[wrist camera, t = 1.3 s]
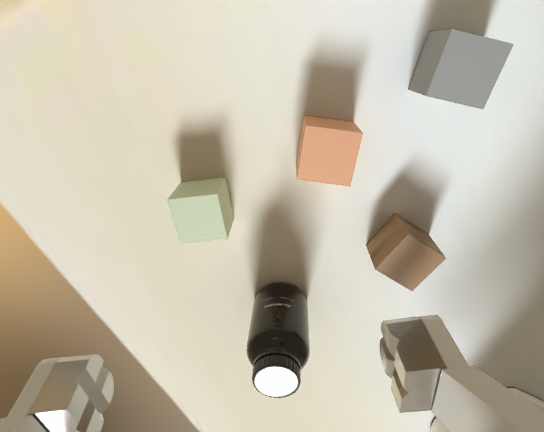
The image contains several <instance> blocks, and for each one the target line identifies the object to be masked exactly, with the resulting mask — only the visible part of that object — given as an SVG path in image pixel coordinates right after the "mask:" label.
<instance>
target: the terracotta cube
mask: <svg viewBox="0 0 544 432" xmlns="http://www.w3.org/2000/svg"><path fill="white" fill-rule="evenodd" d="M362 134H363V133H362V132H361V130H360V129H359V128H358V127H357V126H356V124H355V123H354V122H349V121H342V120H335V119H327V118H320V117H313V116H305V115H304V117H303V123H302V129H301V136H300V142H299V148H298V154H297V160H296V171H297V179H298V180H306V181H313V182H321V183H328V184H336V185H343V186H350V185H351V180H352V176H353V172H354V168H355V164H356V159H357V155H358V151H359V147H360V143H361V139H362Z"/></svg>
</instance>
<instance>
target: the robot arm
mask: <svg viewBox="0 0 544 432" xmlns="http://www.w3.org/2000/svg"><path fill="white" fill-rule="evenodd" d="M381 331H382V334H383V338H382V339H381V340H380V354H381V360H382V363H383V367H384V370H385V373H386V374H387V375H388V376H389V377H390V378H392V386H391V390H392V393H393V395H394V398H395V401H396V404H397V406H398V409H399V412H400V413H402V412H414V411H427V410H432V413H433V414H434V415H435V416H436V419H435V420H434V422H433V423H432V426H431V429H430V432H544V402H543V401H541V400H539V399H537V398H535V397H533V396H531V395H529V394H526V393H524V392H522V391H520V390H518V389H515V388H507V387H505V386H504V385H502V384H501V383H499V382H498V381H496V380H495V379H493V378H492V377H491V376H489V375H488V374H486V373H485V372H483V371H482V370H480V369H479V368H477V367H476V366H469V365H468V364H467V362H466V360H465V359H464V357H463V355H462V353H461V352H460V350H459V348H458V347H457V345H456V343H455V342H454V340H453V338H452V337H451V335H450V333H449V332H448V330H447V328H446V326H445V325H444V323H443V321H442V320H441V318H440V317H439V316H438V315H429V316H421V317H409V318H402V319H394V320H386V321H383V322H382V324H381ZM102 364H103V360H102V358H101V357H100V355H99V354H97V355H85V356H75V357H62V358H53V359H44V360H42V361H41V362H40V363H39V364H38V365H37V366H36V368H35V370H34V372H33V373H32V375H31V377H30V378H29V380H28V382H27V384H26V385H25V387H24V389H23V390H22V392H21V394H20V395H19V397H18V399H17V401H16V402H15V404H14V406H13V408H12V409H11V411H10V413H9V414H8V416H7V417H6V418H1V419H0V432H100V431H101V428H102V425H103V422H104V419H103V416H102V412H103V411H104V410H105V409H106V408H107V407H108V406H109V405H110V402H111V399H112V395H113V388H114V382H113V377H112V375H111V373H110V371H109V370H107V369H105V368H103V367H102Z"/></svg>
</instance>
